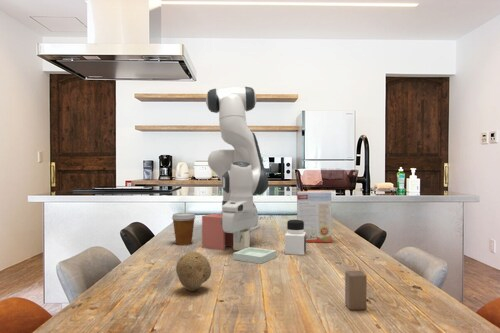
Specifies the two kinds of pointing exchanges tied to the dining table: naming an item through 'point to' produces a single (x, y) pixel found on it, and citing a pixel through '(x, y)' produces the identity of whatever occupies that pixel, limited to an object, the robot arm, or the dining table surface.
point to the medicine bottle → (295, 238)
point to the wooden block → (355, 290)
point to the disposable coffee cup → (183, 227)
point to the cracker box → (315, 214)
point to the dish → (254, 255)
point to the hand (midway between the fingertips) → (241, 241)
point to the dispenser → (215, 233)
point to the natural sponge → (193, 270)
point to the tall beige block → (242, 240)
